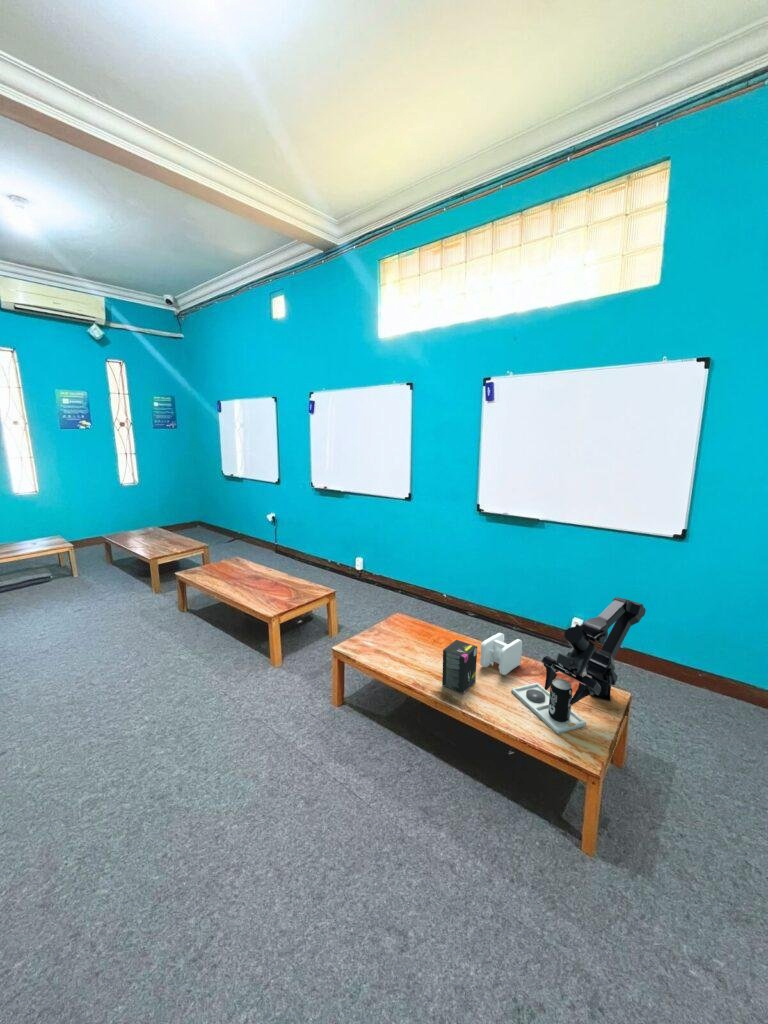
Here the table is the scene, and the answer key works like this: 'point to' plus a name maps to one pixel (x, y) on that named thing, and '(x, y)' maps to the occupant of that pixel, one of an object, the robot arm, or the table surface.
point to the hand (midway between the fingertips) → (557, 696)
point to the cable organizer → (501, 653)
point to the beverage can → (560, 700)
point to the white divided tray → (545, 707)
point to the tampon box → (459, 666)
